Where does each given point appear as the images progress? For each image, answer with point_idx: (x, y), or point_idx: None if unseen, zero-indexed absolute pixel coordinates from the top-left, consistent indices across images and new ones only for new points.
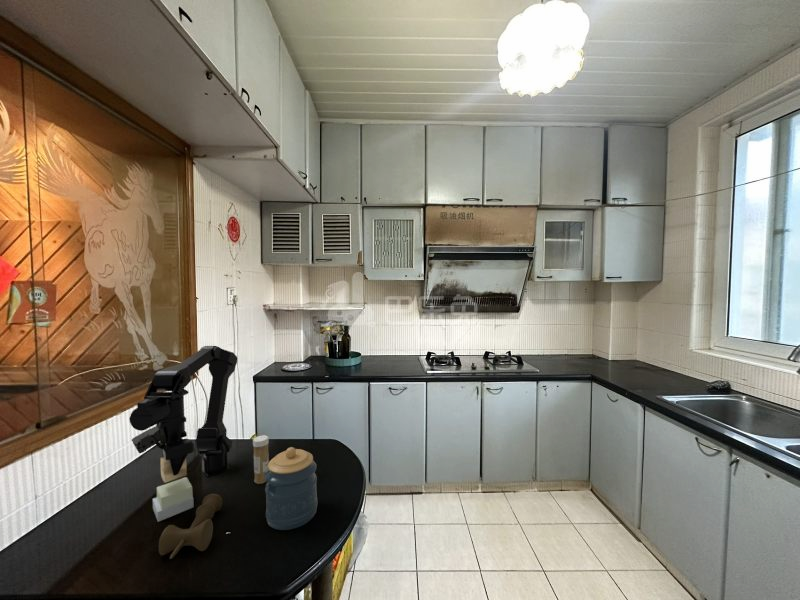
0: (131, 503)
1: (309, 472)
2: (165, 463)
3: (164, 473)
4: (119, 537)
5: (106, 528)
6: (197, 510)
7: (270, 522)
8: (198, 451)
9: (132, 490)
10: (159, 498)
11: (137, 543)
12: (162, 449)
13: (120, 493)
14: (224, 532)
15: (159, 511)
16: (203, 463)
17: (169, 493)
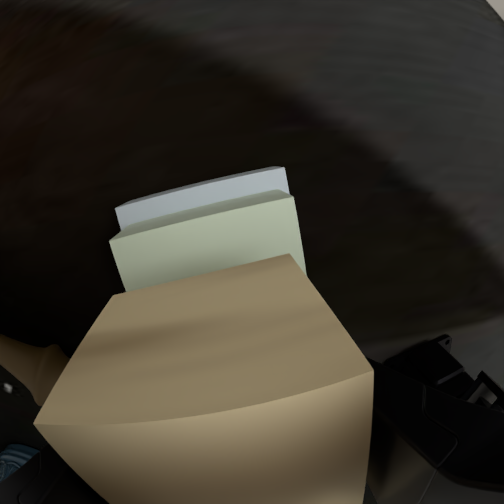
0: (375, 84)
1: None
2: (59, 440)
3: (81, 345)
4: (106, 73)
5: (215, 13)
6: (37, 363)
7: (8, 450)
8: (488, 381)
9: (466, 100)
10: (179, 217)
11: (31, 153)
12: (478, 488)
13: (464, 65)
14: (9, 382)
15: (117, 216)
16: (439, 369)
17: (145, 283)
